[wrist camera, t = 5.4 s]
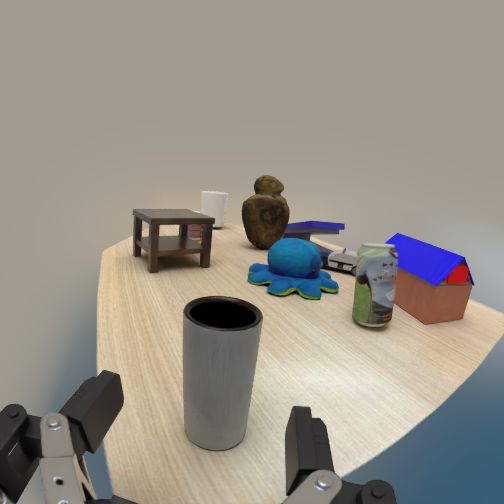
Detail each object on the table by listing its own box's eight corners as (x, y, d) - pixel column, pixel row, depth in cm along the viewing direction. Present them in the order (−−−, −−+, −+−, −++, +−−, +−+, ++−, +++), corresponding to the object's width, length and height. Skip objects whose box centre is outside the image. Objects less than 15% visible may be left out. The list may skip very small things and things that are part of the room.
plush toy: (247, 264, 63) (252, 226, 61) (323, 272, 64) (330, 236, 62) (246, 293, 47) (252, 243, 45) (346, 302, 47) (356, 254, 45)
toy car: (309, 261, 72) (313, 241, 71) (372, 274, 67) (376, 254, 65) (305, 265, 68) (308, 244, 67) (371, 279, 62) (376, 258, 61)
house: (405, 284, 61) (415, 235, 58) (464, 319, 42) (481, 259, 39) (365, 283, 59) (376, 230, 56) (424, 325, 40) (444, 255, 37)
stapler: (310, 259, 74) (316, 221, 72) (266, 236, 99) (270, 207, 97) (344, 259, 78) (350, 225, 76) (295, 237, 103) (299, 210, 101)
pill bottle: (204, 243, 78) (207, 212, 76) (188, 244, 75) (190, 212, 73) (196, 239, 82) (199, 210, 80) (181, 240, 79) (183, 210, 77)
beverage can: (382, 336, 36) (405, 251, 33) (336, 320, 40) (353, 239, 37) (392, 322, 40) (412, 247, 38) (352, 308, 45) (367, 236, 42)
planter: (235, 406, 22) (248, 294, 19) (253, 446, 17) (275, 327, 15) (180, 411, 20) (179, 295, 18) (190, 454, 16) (189, 332, 13)
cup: (194, 225, 106) (197, 190, 103) (218, 225, 111) (221, 192, 108) (204, 230, 98) (207, 192, 95) (230, 230, 103) (233, 194, 100)
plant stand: (149, 273, 50) (151, 218, 48) (131, 254, 60) (132, 209, 58) (211, 267, 58) (215, 218, 56) (184, 251, 68) (187, 209, 66)
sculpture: (279, 246, 86) (288, 178, 81) (289, 253, 78) (298, 178, 73) (235, 243, 83) (242, 172, 79) (240, 250, 75) (248, 172, 71)
